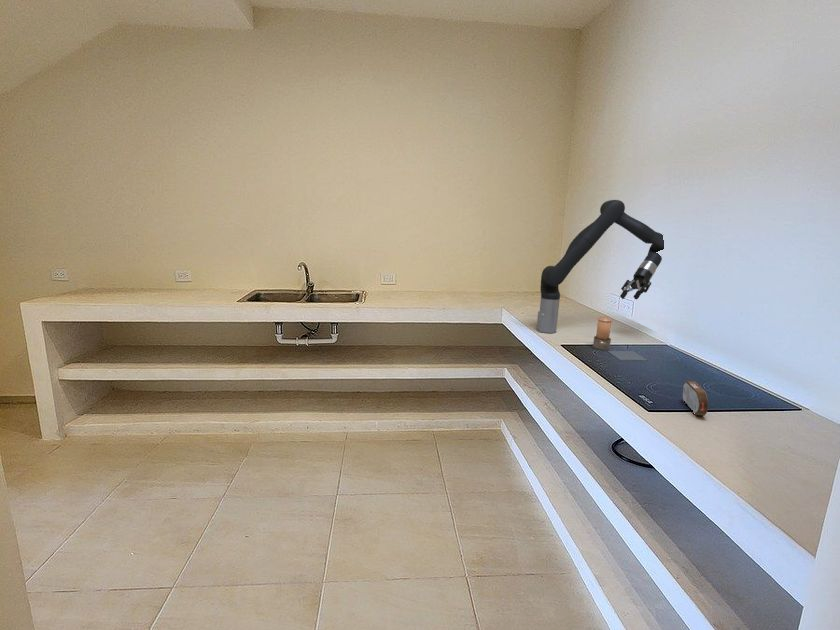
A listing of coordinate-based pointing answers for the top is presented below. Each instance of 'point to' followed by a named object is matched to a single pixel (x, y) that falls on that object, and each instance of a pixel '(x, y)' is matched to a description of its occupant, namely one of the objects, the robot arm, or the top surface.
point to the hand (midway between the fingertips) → (628, 298)
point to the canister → (601, 344)
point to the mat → (627, 356)
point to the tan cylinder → (603, 328)
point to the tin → (695, 397)
